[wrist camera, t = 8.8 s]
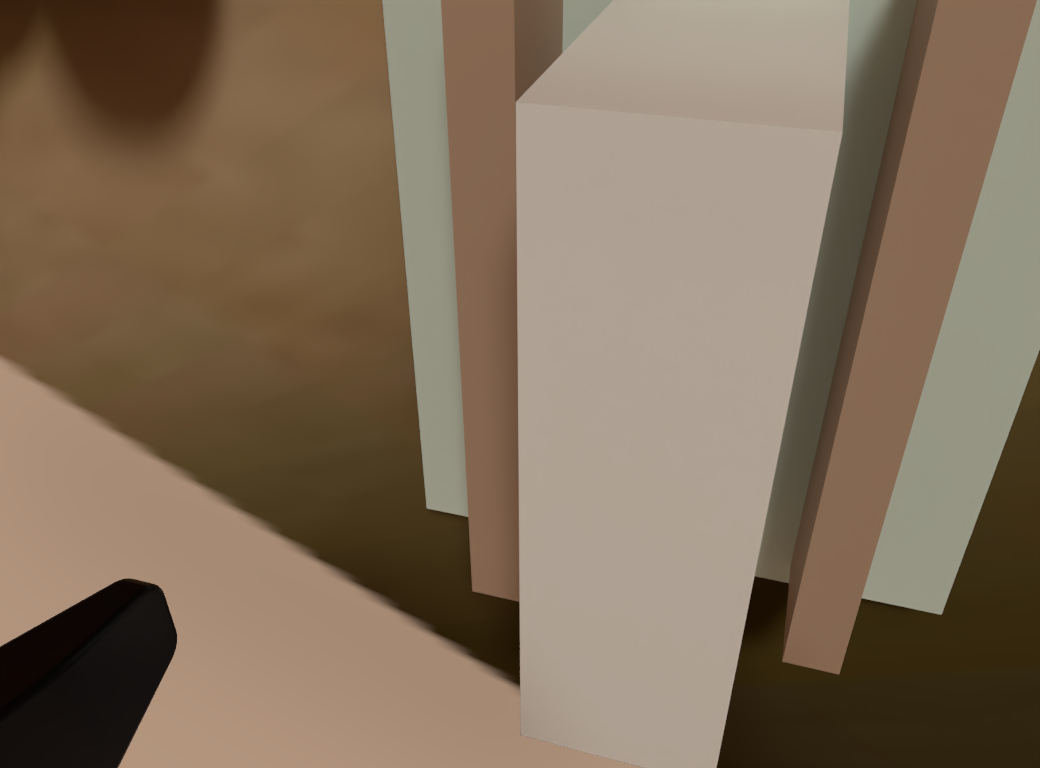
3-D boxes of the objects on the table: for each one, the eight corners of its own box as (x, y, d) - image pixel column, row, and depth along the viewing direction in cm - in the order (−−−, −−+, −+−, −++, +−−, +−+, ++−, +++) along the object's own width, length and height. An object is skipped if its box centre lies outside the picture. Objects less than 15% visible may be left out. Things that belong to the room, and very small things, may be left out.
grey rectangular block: (850, -13, 13) (842, 132, 8) (751, 520, 19) (712, 786, 14) (636, -24, 14) (515, 102, 9) (604, 491, 19) (520, 735, 15)
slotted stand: (1192, -136, 12) (1292, -98, 9) (938, 578, 19) (950, 719, 16) (396, -152, 14) (287, -127, 12) (442, 480, 22) (382, 586, 19)
